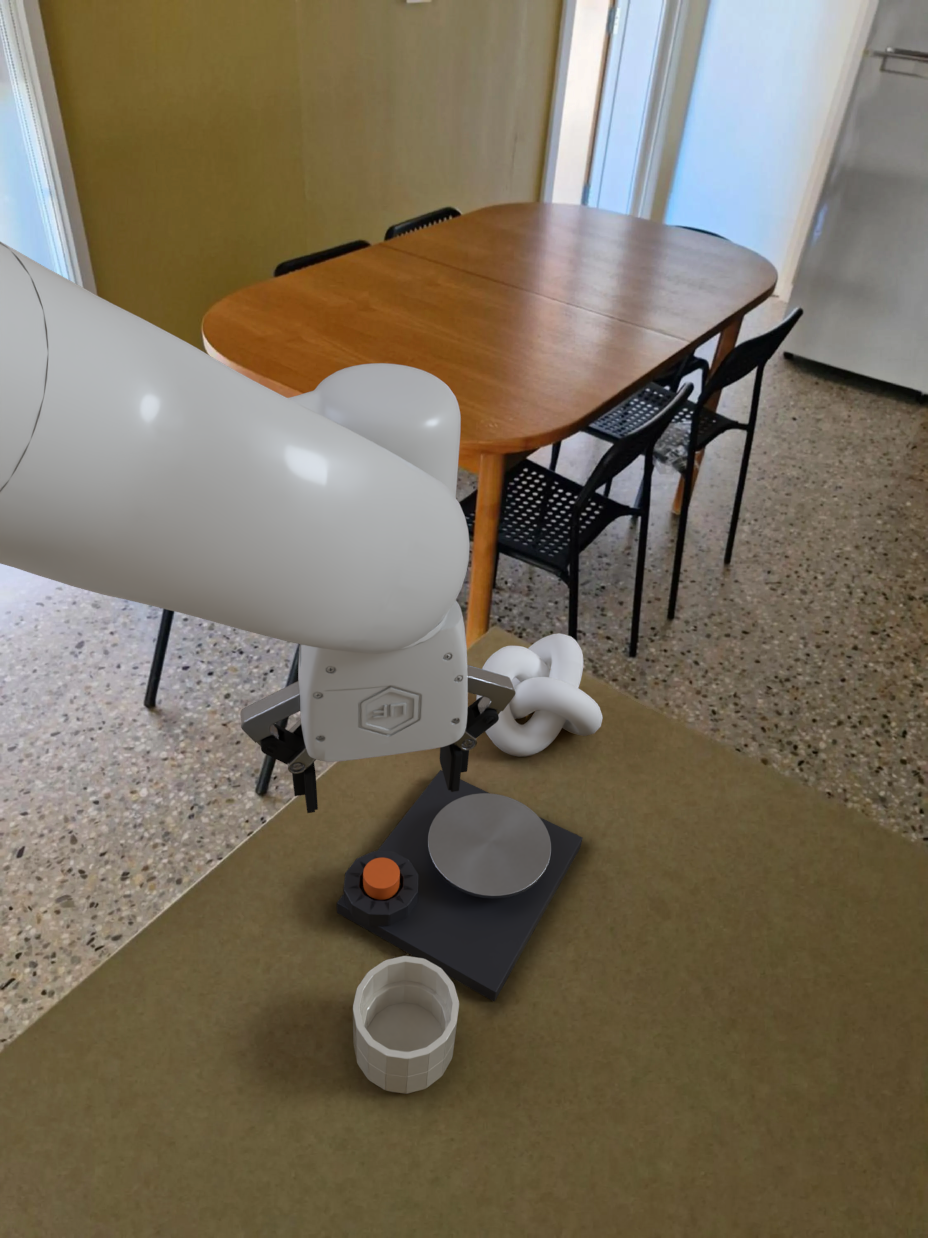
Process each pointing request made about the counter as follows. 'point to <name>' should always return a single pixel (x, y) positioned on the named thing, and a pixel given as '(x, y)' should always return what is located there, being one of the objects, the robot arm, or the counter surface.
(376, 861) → the tare button
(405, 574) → the robot arm
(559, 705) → the white knot sculpture
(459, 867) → the brushed metal disc
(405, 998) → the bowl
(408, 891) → the scale
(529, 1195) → the counter surface
